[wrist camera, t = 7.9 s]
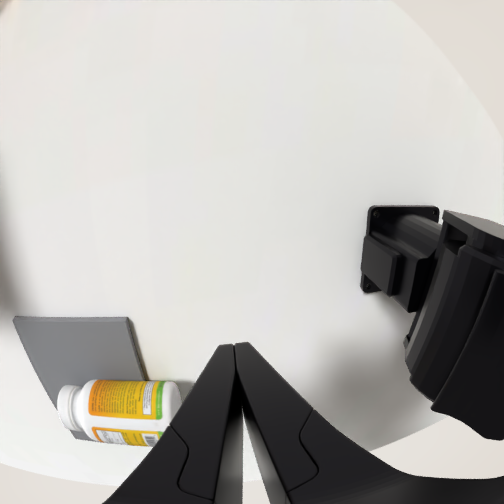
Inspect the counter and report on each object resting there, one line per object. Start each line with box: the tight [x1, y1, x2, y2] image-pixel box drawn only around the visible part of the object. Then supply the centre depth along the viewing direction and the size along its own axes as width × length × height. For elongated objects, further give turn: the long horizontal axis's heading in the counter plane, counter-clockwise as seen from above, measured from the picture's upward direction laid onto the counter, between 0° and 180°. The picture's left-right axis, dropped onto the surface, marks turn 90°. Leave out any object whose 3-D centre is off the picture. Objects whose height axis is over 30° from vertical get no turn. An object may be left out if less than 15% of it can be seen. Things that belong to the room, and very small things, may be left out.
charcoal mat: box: [13, 316, 145, 444], centre depth 22 cm, size 11×16×1 cm
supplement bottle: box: [57, 379, 182, 447], centre depth 20 cm, size 5×5×10 cm
